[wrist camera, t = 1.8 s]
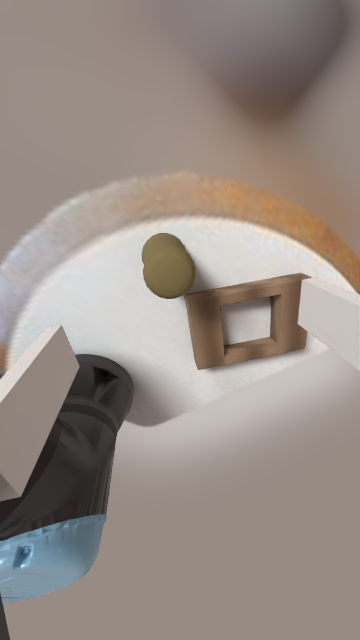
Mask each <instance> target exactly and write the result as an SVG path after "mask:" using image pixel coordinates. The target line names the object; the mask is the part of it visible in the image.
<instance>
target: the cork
mask: <svg viewBox="0 0 360 640" xmlns="http://www.w3.org/2000/svg"><path fill="white" fill-rule="evenodd" d="M142 261H143V263H144V269H143V275H144V280H145V283H146V285H147V287H148V288H149V289H150V290H151V291H152V292H153V293H154V294H155V295H157V296H159V297H161V298H166V299H173V298H177V297H180V296H182V295H184V294H185V293H186V292H187V291H188V290H189V289H190V288H191V286H192V285H193V282H194V279H195V266H194V263H193V260H192V259H191V257H190V256H189V255H188V253H187V252H186V251H185V248H184V245H183V244H182V243H181V241H180V240H179V239H178V238H177V237H175V236H174V235H171V234H168V233H159V234H156V235H154V236H152V237H151V238H150V239H148V240H147V242H146V243H145V245H144V247H143V251H142Z"/></svg>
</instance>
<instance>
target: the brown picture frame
mask: <svg viewBox="0 0 360 640" xmlns="http://www.w3.org/2000/svg"><path fill="white" fill-rule="evenodd" d="M309 278H312V277H310V276H307V275H305V274H302V273H297V274H291V275H286V276H281V277H276V278H270V279H265V280H260V281H254V282H249V283H244V284H238V285H233V286H228V287H222V288H217V289H212V290H207V291H201V292H196V293H191V294H185V300H186V306H187V313H188V319H189V326H190V332H191V339H192V345H193V352H194V359H195V362H196V366H197V369H198V370H201V369H206V368H211V367H216V366H221V365H226V364H231V363H236V362H241V361H246V360H251V359H256V358H261V357H266V356H270V355H275V354H280V353H285V352H290V351H295V350H300V349H305V345H306V336H307V331H306V330H305V329H304V328H303V327H301V326H300V325H299V324H298V316H299V305H300V295H301V285H302V280H304V279H309ZM268 296H271V325H270V337H267V338H262V339H257V340H252V341H247V342H242V343H237V344H232V345H227V346H224V345H223V332H222V319H221V305H227V304H232V303H237V302H242V301H247V300H253V299H258V298H263V297H268Z"/></svg>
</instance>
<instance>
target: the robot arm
mask: <svg viewBox="0 0 360 640" xmlns="http://www.w3.org/2000/svg"><path fill="white" fill-rule="evenodd" d="M298 324H299V325H300V326H301V327H303V328H304V329H305V330H306V331H308V332H309V333H310V334H312V335H313V336H314V337H316V338H317V339H318V340H320V341H321V342H322V343H324V344H325V345H326V346H328V347H329V348H330V349H332V350H333V351H334V352H336V353H337V354H338V355H340V356H341V357H342V358H344V359H345V360H346V361H347V362H349V363H350V364H351V365H353V366H354V367H355V368H357V369H358V370H359V371H360V295H359V294H356V293H354V292H351V291H349V290H346V289H344V288H341V287H339V286H336V285H333V284H331V283H328V282H326V281H323V280H321V279H318V278H316V277H314V278H309V279H304V280H302V285H301V295H300V305H299V316H298ZM132 399H133V384H132V381H131V379H130V377H129V375H128V374H127V372H126V371H125V370H124V369H123V368H122V367H121V366H120V365H118V364H117V363H115V362H113V361H112V360H109V359H107V358H104V357H101V356H97V355H90V354H79V355H74V352H73V350H72V348H71V345H70V343H69V341H68V339H67V336H66V334H65V332H64V329H63V327H62V325H57V326H51V327H47V328H46V329H45V330H44V331H43V332H42V333H41V334H40V335H39V337H38V338H37V339H36V340H35V341H34V342H33V343H32V344H31V346H30V347H29V348H28V349H27V350H26V351H25V352H24V353H23V355H22V356H21V357H20V358H19V359H18V360H17V361H16V362H15V364H14V365H13V366H12V367H11V368H10V369H9V370H8V371H7V373H6V374H5V373H4V372H3V371H2V370H0V640H10V638H9V633H8V628H7V623H6V618H5V613H4V608H3V603H9V602H15V601H20V600H25V599H30V598H34V597H38V596H42V595H45V594H48V593H51V592H54V591H57V590H59V589H62V588H64V587H67V586H69V585H71V584H72V583H74V582H76V581H77V580H79V579H80V578H82V577H83V576H84V575H85V574H86V573H87V572H88V571H89V569H90V567H91V566H92V564H93V563H94V561H95V559H96V557H97V554H98V550H99V545H100V539H101V535H102V529H103V525H104V523H105V522H106V510H107V503H108V496H109V488H110V480H111V473H112V465H113V458H114V451H115V442H116V436H117V432H118V430H119V429H120V427H121V425H122V423H123V421H124V419H125V417H126V415H127V414H128V412H129V410H130V408H131V404H132Z"/></svg>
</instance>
